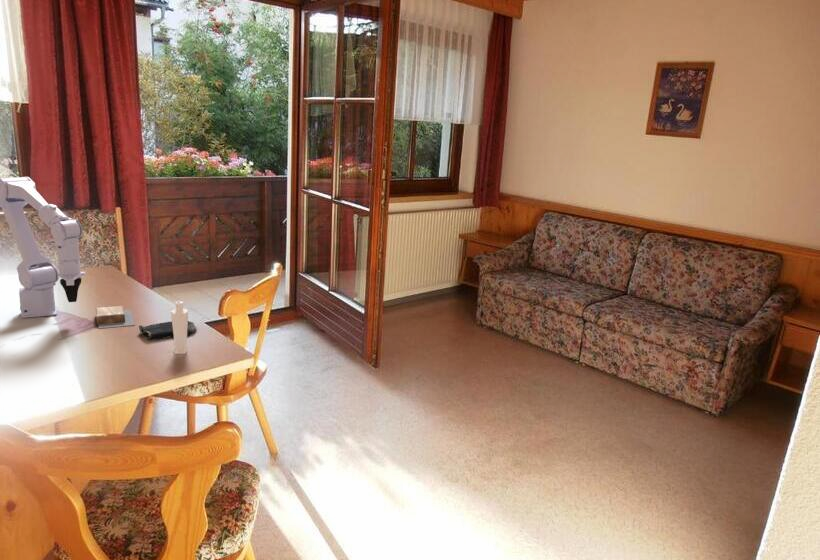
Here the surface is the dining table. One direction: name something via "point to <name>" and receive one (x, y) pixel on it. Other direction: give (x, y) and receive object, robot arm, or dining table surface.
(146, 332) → the electronic device
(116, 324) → the mat
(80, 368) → the dining table surface
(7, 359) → the dining table surface
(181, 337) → the perfume bottle
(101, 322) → the walnut slab
